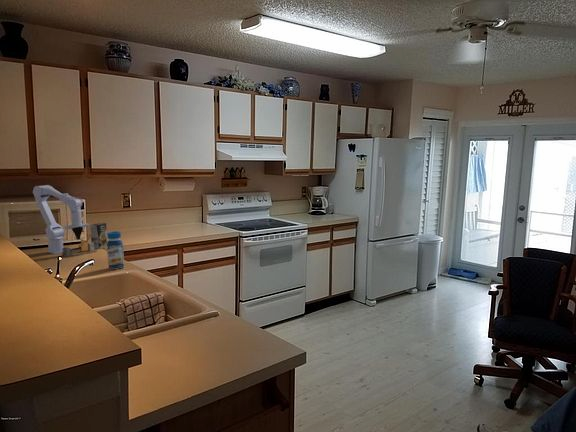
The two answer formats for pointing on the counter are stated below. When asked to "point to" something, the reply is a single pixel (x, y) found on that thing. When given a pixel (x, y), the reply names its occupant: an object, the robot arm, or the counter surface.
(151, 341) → the counter surface
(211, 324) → the counter surface
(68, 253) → the cord board
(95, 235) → the coffee box
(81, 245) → the marker sleeve
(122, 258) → the blue pill bottle
